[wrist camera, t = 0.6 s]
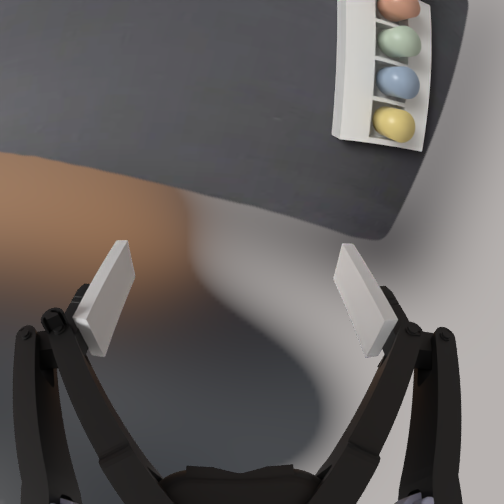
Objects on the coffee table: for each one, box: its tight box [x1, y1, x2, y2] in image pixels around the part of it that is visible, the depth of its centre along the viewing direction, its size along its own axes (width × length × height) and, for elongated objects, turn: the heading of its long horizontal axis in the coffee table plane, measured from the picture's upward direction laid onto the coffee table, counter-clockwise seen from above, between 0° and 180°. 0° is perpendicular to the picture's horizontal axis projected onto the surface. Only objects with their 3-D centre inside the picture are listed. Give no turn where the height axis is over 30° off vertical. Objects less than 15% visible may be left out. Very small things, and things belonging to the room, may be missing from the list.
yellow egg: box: [372, 106, 415, 143], centre depth 31 cm, size 4×4×4 cm
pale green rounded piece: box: [377, 26, 421, 58], centre depth 25 cm, size 4×4×4 cm
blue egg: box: [376, 66, 420, 99], centre depth 28 cm, size 4×4×4 cm
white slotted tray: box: [332, 0, 432, 152], centre depth 29 cm, size 25×14×4 cm, turn 179°
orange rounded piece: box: [377, 0, 420, 22], centre depth 21 cm, size 4×4×4 cm
